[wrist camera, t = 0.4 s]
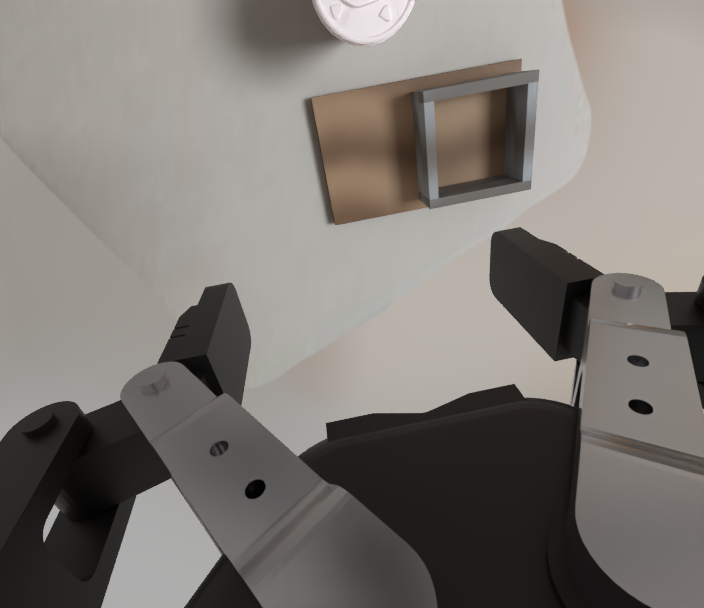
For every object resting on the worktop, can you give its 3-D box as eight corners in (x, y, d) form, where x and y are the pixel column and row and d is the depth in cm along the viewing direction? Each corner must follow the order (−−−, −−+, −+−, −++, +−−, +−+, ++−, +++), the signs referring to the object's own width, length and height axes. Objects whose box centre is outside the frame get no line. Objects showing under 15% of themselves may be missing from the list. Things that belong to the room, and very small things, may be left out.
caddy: (311, 97, 33) (312, 98, 29) (515, 59, 33) (545, 55, 29) (334, 222, 38) (338, 237, 34) (510, 187, 39) (534, 198, 35)
